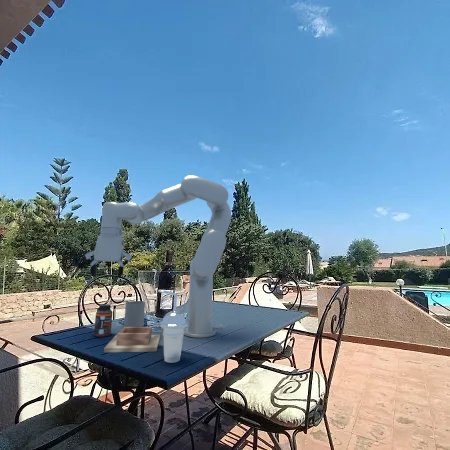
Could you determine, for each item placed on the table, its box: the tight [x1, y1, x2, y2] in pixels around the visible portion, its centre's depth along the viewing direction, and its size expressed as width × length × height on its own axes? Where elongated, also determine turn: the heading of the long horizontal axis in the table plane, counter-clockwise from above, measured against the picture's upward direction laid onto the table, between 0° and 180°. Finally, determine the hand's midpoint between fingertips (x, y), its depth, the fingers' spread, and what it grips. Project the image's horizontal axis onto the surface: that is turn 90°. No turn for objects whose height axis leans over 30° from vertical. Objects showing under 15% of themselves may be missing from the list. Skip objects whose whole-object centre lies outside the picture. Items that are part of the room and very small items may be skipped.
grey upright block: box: [123, 300, 146, 327], centre depth 123 cm, size 8×8×10 cm
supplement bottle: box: [93, 303, 113, 338], centre depth 106 cm, size 6×6×11 cm
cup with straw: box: [157, 289, 188, 363], centre depth 83 cm, size 8×9×20 cm
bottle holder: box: [103, 326, 161, 354], centre depth 95 cm, size 16×16×5 cm
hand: (106, 276), depth 109 cm, fingers open, 9 cm apart
